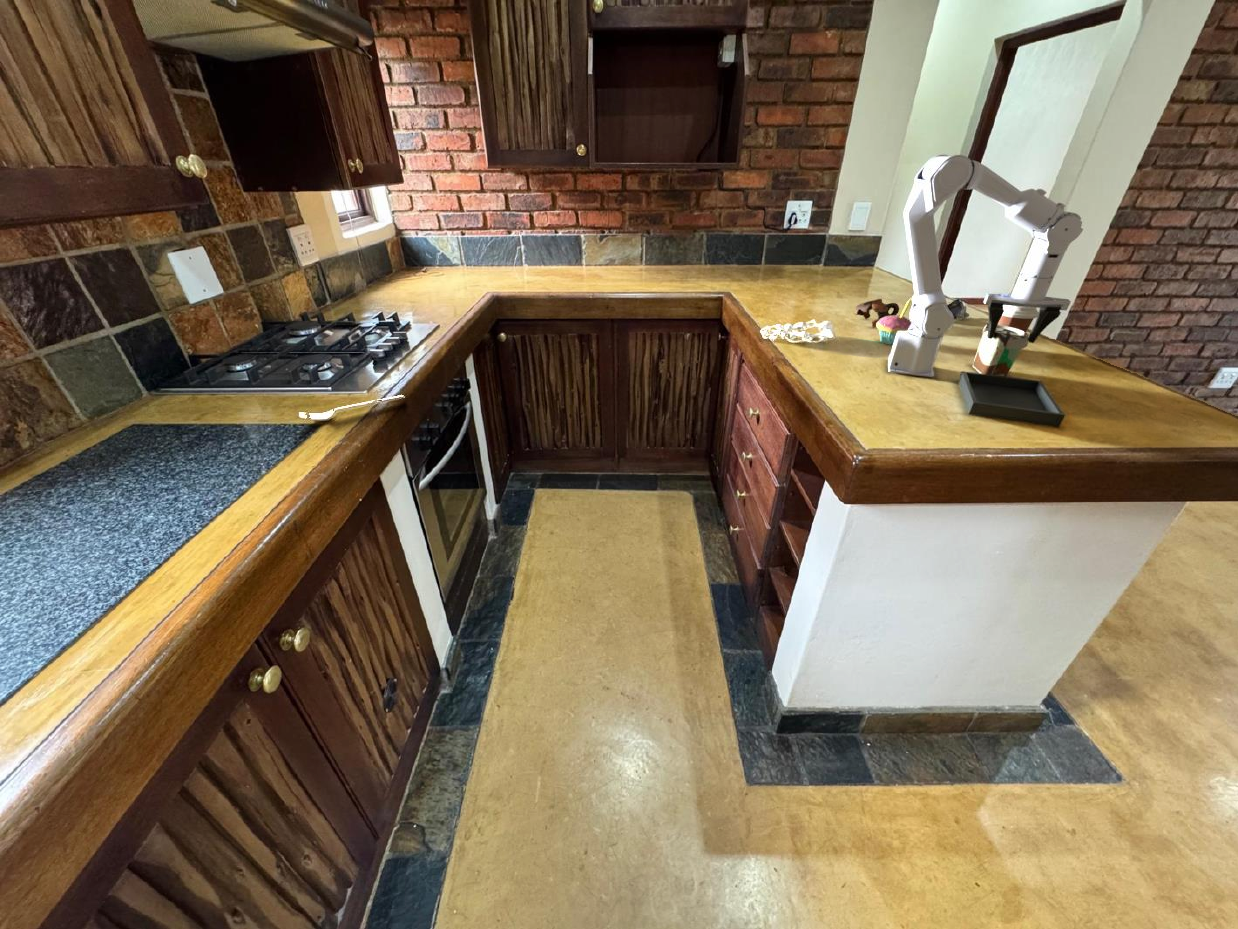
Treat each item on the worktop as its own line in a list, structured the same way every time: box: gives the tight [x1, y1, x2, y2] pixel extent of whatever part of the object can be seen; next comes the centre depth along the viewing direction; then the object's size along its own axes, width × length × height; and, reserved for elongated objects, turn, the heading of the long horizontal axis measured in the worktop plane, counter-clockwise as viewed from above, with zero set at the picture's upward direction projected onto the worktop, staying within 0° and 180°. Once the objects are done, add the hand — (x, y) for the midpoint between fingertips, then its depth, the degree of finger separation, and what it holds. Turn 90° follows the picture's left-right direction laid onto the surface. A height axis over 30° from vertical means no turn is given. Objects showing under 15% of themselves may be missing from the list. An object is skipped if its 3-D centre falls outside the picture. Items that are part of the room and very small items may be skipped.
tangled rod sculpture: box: [760, 318, 836, 344], centre depth 135 cm, size 19×14×4 cm
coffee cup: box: [998, 305, 1039, 333], centre depth 123 cm, size 9×9×12 cm
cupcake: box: [876, 297, 912, 346], centre depth 130 cm, size 9×8×12 cm
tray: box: [957, 371, 1066, 429], centre depth 100 cm, size 15×18×3 cm
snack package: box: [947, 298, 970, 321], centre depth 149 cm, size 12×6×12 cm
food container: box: [971, 323, 1029, 377], centre depth 110 cm, size 12×6×10 cm, turn 168°
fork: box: [298, 394, 406, 422], centre depth 102 cm, size 3×20×2 cm, turn 122°
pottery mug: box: [854, 298, 900, 329], centre depth 146 cm, size 12×10×8 cm
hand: (1009, 339), depth 109 cm, fingers open, 7 cm apart
